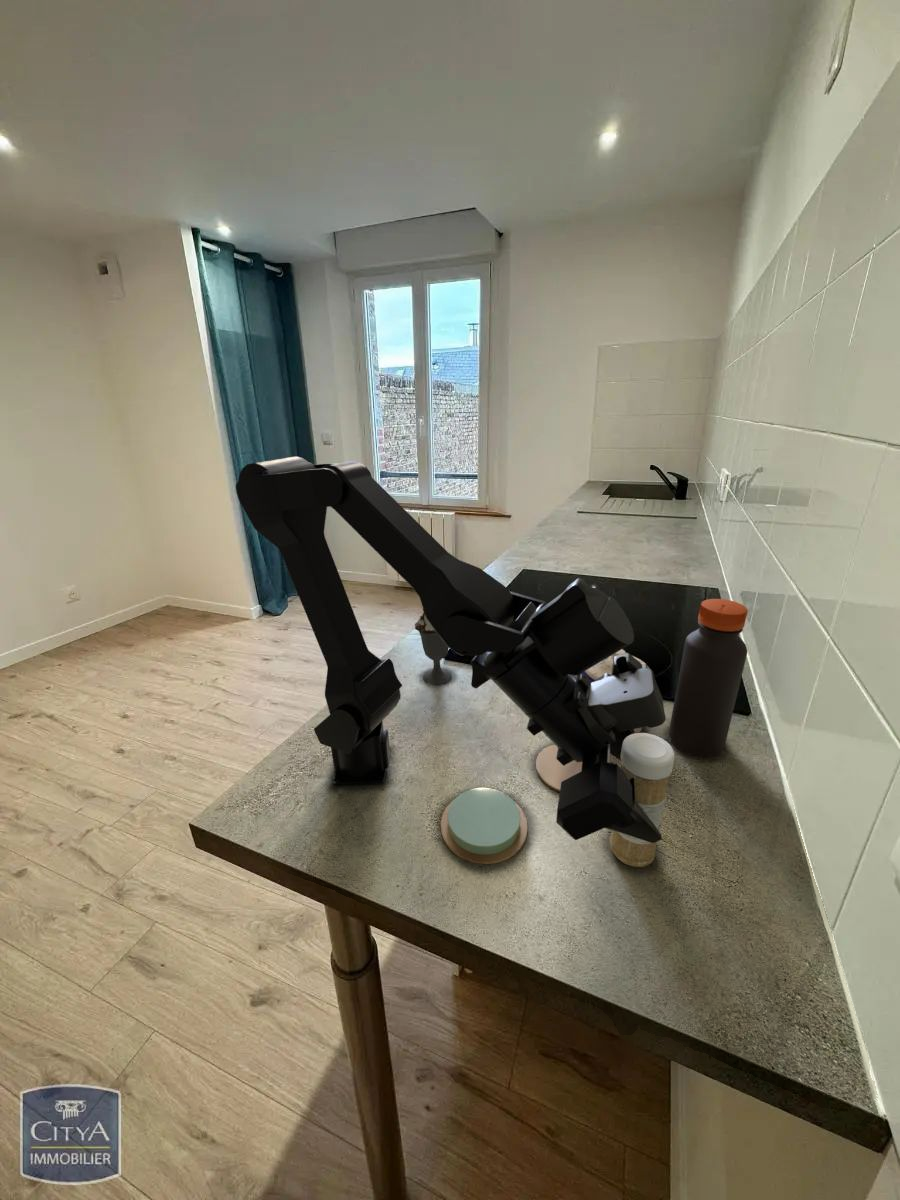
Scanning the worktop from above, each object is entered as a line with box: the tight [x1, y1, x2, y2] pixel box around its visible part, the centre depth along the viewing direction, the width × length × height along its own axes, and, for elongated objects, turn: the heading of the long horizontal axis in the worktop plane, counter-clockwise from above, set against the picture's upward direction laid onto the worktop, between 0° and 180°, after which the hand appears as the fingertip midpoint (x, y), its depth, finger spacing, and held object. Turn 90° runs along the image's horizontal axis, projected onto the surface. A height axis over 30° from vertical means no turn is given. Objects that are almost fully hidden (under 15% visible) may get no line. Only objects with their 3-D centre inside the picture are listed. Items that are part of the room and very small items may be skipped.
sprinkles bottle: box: [609, 732, 676, 868], centre depth 46 cm, size 5×5×13 cm
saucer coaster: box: [440, 800, 528, 865], centre depth 52 cm, size 10×10×1 cm
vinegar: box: [668, 598, 749, 757], centre depth 60 cm, size 7×7×20 cm
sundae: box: [414, 608, 453, 685], centre depth 78 cm, size 7×7×15 cm
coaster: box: [535, 743, 582, 793], centre depth 60 cm, size 9×9×1 cm
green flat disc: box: [448, 787, 520, 855], centre depth 52 cm, size 8×8×1 cm
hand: (654, 804), depth 46 cm, fingers open, 8 cm apart
